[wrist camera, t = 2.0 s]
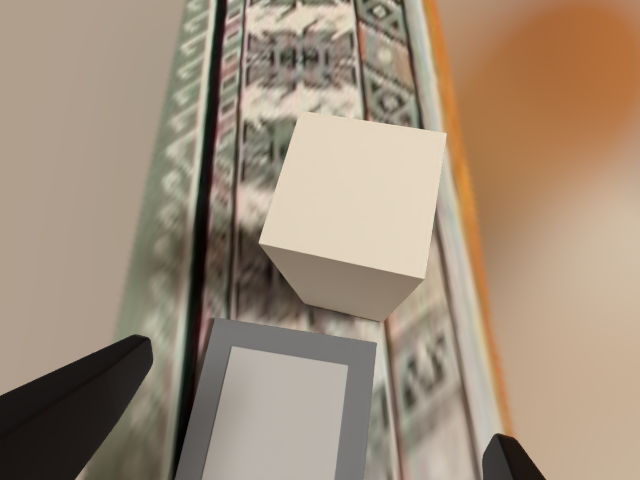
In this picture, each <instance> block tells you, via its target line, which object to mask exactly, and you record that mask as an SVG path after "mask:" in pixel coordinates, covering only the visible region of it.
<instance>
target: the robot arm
mask: <svg viewBox="0 0 640 480" xmlns="http://www.w3.org/2000/svg"><path fill="white" fill-rule="evenodd" d="M152 364H153V353H152V346H151V340H150V339H149V338H148V337H145V336H141V335H137V334H135V335H132V336H129V337H127V338H125V339H123V340H120V341H118V342H116V343H114V344H112V345H110V346H107V347H105V348H103V349H101V350H99V351H97V352H94V353H92V354H90V355H88V356H86V357H83V358H81V359H79V360H77V361H75V362H73V363H70V364H68V365H66V366H64V367H62V368H59V369H57V370H55V371H53V372H51V373H49V374H46V375H44V376H42V377H40V378H38V379H35V380H33V381H32V382H29V383H27V384H25V385H23V386H20V387H18V388H16V389H14V390H12V391H9V392H7V393H5V394H3V395H1V396H0V480H75V479H76V477H77V476H78V475H79V473H80V472H81V471H82V469H83V468H84V467H85V465H86V464H87V463H88V461H89V460H90V459H91V457H92V456H93V455H94V453H95V452H96V451H97V449H98V448H99V446H100V445H101V444H102V442H103V441H104V440H105V438H106V437H107V436H108V434H109V433H110V432H111V430H112V429H113V428H114V426H115V425H116V423H117V422H118V420H119V419H120V417H121V416H122V414H123V413H124V411H125V410H126V408H127V406H128V405H129V403H130V401H131V400H132V398H133V396H134V395H135V393H136V392H137V390H138V388H139V387H140V385H141V383H142V382H143V380H144V378H145V377H146V375H147V374H148V372H149V370H150V369H151V367H152ZM482 467H483V480H546V479H545V478H544V476H543V475H542V473H541V472H540V471H539V470H538V468H537V467H536V465H535V464H534V463H533V461H532V460H531V459H530V457H529V456H528V454H527V453H526V452H525V450H524V449H523V448H522V446H521V445H520V444H519V442H518V441H517V440H516V439H515V438H513V437H510V436H507V435H503V434H499V433H497V434H495V435H494V436H493V437H492V439H491V441H490V443H489V445H488V446H487V448H486V450H485V452H484V454H483V459H482Z"/></svg>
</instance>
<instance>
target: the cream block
mask: <svg viewBox="0 0 640 480" xmlns="http://www.w3.org/2000/svg"><path fill="white" fill-rule="evenodd" d="M446 135H447V133H442V132H436V131H429V130H422V129H416V128H409V127H403V126H396V125H390V124H383V123H377V122H370V121H364V120H357V119H351V118H344V117H337V116H331V115H324V114H318V113H311V112H305V111H300V114H299V117H298V120H297V123H296V126H295V130H294V133H293V136H292V139H291V142H290V145H289V149H288V152H287V155H286V158H285V161H284V164H283V167H282V171H281V174H280V177H279V180H278V183H277V186H276V189H275V193H274V196H273V199H272V202H271V205H270V208H269V212H268V215H267V218H266V221H265V224H264V227H263V230H262V234H261V237H260V240H259V245H260V246H261V247H262V249H263V250H264V251H265V252H266V254H267V255H268V256H269V258H270V259H271V260H272V262H273V263H274V264H275V266H276V267H277V268H278V270H279V271H280V272H281V274H282V275H283V276H284V277H285V279H286V280H287V281H288V283H289V284H290V285H291V287H292V288H293V289H294V291H295V292H296V293H297V295H298V296H299V297H300V299H301V300H302V301H303V303H304V304H308V305H312V306H316V307H321V308H325V309H329V310H333V311H337V312H342V313H346V314H350V315H354V316H358V317H363V318H367V319H371V320H375V321H379V322H383V321H384V320H385V319H386V318H387V317H388V316H389V315H390V314H391V313H392V312H393V311H394V310H395V309H396V308H397V307H398V306H399V305H400V304H401V303H402V302H403V301H404V300H405V299H406V298H407V297H408V296H409V295H410V294H411V293H412V292H413V291H414V290H415V288H416V287H417V286H418V285H419V284H420V283H421V282H422V281H423V280H424V279H425V274H426V267H427V260H428V254H429V247H430V241H431V234H432V227H433V221H434V214H435V208H436V201H437V194H438V188H439V181H440V175H441V168H442V161H443V155H444V148H445V142H446Z"/></svg>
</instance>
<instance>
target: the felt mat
mask: <svg viewBox="0 0 640 480" xmlns="http://www.w3.org/2000/svg"><path fill="white" fill-rule="evenodd" d="M376 346H377V343H375V342H369V341H362V340H356V339H349V338H343V337H337V336H330V335H324V334H317V333H311V332H305V331H298V330H292V329H285V328H279V327H273V326H266V325H260V324H253V323H247V322H241V321H234V320H228V319H221V318H215V320H214V324H213V328H212V332H211V336H210V340H209V344H208V348H207V352H206V356H205V360H204V364H203V368H202V372H201V376H200V380H199V384H198V388H197V392H196V396H195V400H194V404H193V408H192V412H191V416H190V420H189V424H188V428H187V432H186V436H185V440H184V445H183V449H182V453H181V457H180V461H179V465H178V469H177V473H176V477H175V480H363V479H364V469H365V459H366V448H367V438H368V428H369V418H370V407H371V397H372V387H373V377H374V366H375V356H376Z"/></svg>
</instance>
